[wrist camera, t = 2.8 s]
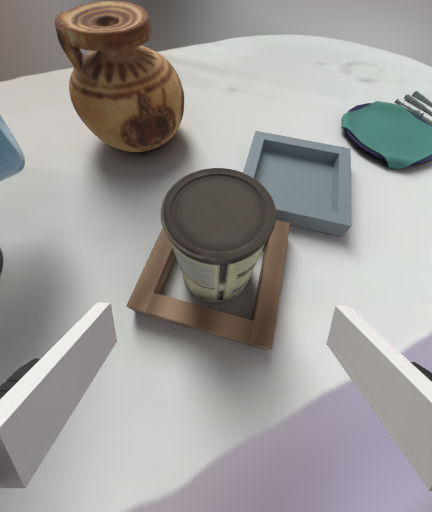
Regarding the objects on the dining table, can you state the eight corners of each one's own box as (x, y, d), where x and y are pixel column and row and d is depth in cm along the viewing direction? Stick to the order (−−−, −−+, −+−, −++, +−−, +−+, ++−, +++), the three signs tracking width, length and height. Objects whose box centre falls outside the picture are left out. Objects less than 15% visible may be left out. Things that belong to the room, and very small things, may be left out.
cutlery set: (320, 125, 47) (326, 115, 45) (406, 93, 54) (414, 83, 52) (391, 184, 40) (401, 174, 38) (478, 138, 47) (491, 127, 45)
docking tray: (233, 211, 36) (234, 199, 33) (253, 145, 44) (255, 130, 41) (340, 236, 34) (351, 226, 31) (341, 162, 42) (350, 148, 39)
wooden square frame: (134, 311, 28) (126, 306, 26) (179, 209, 36) (177, 197, 33) (265, 349, 26) (271, 348, 24) (283, 233, 34) (289, 222, 31)
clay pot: (166, 83, 48) (158, -50, 28) (194, 158, 48) (206, 76, 28) (80, 99, 44) (1, -41, 25) (109, 180, 44) (53, 104, 24)
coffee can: (201, 229, 34) (195, 154, 22) (260, 255, 32) (291, 189, 20) (168, 283, 30) (136, 229, 17) (233, 316, 28) (250, 282, 16)
